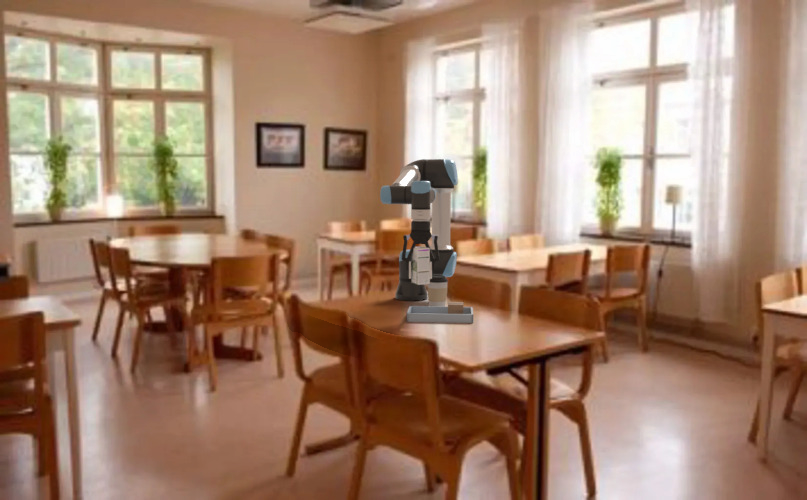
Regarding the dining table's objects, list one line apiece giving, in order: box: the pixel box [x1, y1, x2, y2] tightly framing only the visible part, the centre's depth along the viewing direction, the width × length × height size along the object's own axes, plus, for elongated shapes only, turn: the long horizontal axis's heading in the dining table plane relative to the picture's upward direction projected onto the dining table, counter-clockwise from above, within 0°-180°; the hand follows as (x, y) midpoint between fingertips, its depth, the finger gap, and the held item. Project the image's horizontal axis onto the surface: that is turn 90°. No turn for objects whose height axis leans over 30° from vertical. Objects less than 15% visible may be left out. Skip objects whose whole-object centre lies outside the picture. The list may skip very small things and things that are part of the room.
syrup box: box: [411, 246, 430, 286], centre depth 267 cm, size 6×6×14 cm
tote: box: [406, 305, 474, 324], centre depth 268 cm, size 16×26×4 cm, turn 85°
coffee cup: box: [426, 275, 449, 307], centre depth 289 cm, size 9×9×15 cm
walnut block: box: [447, 301, 464, 314], centre depth 268 cm, size 6×6×6 cm
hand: (420, 278), depth 268 cm, fingers closed on syrup box, 7 cm apart
